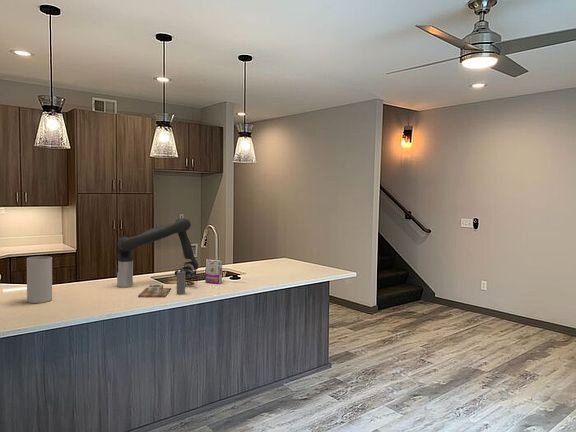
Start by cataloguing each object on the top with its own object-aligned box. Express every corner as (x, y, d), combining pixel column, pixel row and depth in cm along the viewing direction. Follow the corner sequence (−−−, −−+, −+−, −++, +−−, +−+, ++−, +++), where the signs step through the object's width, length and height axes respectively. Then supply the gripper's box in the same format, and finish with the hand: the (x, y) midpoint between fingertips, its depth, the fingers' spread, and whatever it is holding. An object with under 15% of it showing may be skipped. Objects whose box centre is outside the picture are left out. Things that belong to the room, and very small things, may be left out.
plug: (176, 294, 268) (177, 267, 267) (177, 292, 272) (178, 266, 271) (184, 294, 268) (184, 267, 267) (185, 292, 273) (185, 266, 272)
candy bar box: (222, 283, 304) (222, 260, 303) (218, 284, 300) (219, 261, 299) (208, 281, 308) (209, 259, 307) (205, 282, 303) (205, 260, 302)
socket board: (138, 297, 258) (138, 289, 258) (146, 289, 278) (146, 282, 278) (165, 297, 260) (165, 289, 259) (171, 289, 280) (171, 282, 279)
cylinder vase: (49, 303, 240) (48, 259, 239) (24, 304, 237) (23, 259, 235) (54, 297, 252) (54, 256, 251) (30, 298, 249) (30, 256, 247)
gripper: (177, 265, 296) (173, 269, 280) (198, 265, 298) (195, 269, 281) (177, 275, 297) (173, 280, 281) (198, 275, 298) (195, 280, 282)
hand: (184, 275), depth 281 cm, fingers open, 8 cm apart
